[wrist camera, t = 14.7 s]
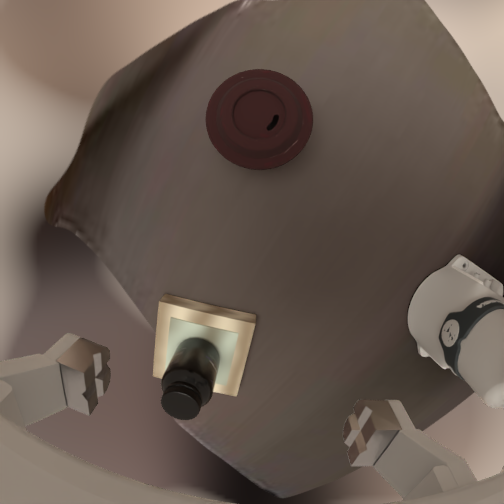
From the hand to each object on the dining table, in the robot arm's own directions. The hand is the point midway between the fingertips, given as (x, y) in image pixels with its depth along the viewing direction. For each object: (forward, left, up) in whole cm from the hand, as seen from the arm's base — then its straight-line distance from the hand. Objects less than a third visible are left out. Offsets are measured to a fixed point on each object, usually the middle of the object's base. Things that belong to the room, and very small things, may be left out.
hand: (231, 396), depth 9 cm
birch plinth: (+4, +20, -34) cm, 40 cm away
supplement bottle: (+4, +20, -31) cm, 37 cm away
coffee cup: (+2, -12, -34) cm, 36 cm away
